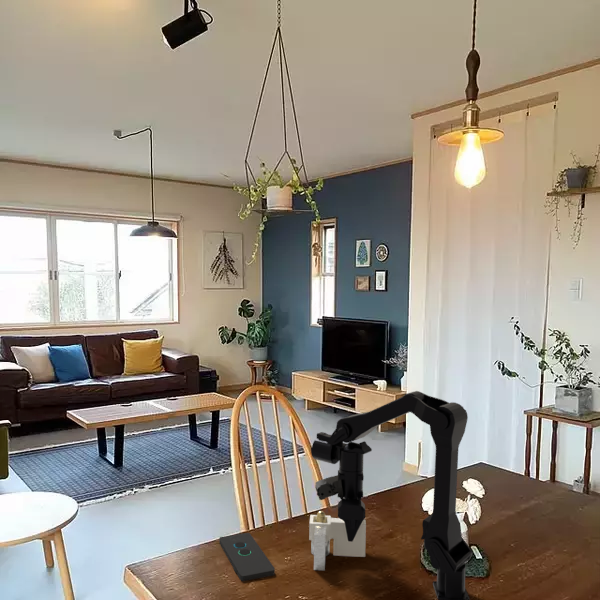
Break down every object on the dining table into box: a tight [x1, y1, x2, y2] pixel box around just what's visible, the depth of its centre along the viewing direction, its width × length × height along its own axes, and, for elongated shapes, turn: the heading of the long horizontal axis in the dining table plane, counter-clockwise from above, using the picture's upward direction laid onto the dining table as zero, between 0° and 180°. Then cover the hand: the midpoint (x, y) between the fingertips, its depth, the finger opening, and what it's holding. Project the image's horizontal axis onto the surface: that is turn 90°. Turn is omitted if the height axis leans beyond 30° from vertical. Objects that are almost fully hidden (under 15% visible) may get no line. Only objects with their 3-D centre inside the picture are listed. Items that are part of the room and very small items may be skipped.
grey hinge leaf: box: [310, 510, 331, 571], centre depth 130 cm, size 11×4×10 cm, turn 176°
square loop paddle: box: [308, 514, 367, 558], centre depth 133 cm, size 5×13×8 cm, turn 86°
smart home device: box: [219, 532, 276, 582], centre depth 130 cm, size 8×2×20 cm
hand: (349, 532), depth 133 cm, fingers open, 9 cm apart
